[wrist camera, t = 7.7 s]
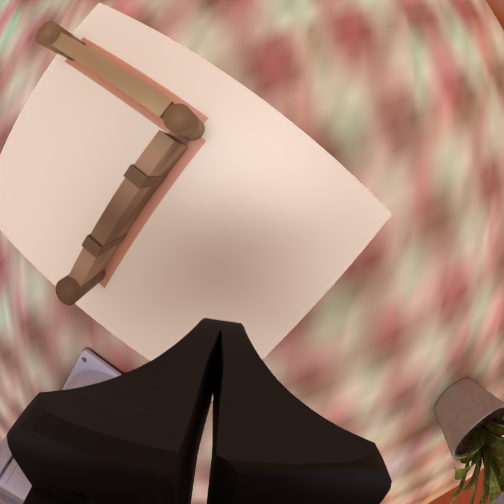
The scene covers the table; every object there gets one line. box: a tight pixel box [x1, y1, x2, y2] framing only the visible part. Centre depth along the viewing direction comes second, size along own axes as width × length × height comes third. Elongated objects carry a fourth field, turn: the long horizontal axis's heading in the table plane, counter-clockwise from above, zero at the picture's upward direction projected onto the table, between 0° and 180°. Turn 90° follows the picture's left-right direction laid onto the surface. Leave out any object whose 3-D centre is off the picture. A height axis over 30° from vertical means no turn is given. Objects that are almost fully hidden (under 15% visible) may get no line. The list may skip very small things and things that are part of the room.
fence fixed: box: [36, 21, 205, 141], centre depth 14 cm, size 2×13×4 cm, turn 51°
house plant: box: [435, 379, 504, 504], centre depth 16 cm, size 14×14×16 cm
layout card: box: [0, 3, 392, 400], centre depth 18 cm, size 19×26×1 cm
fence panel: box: [56, 130, 188, 305], centre depth 16 cm, size 11×2×4 cm, turn 141°
